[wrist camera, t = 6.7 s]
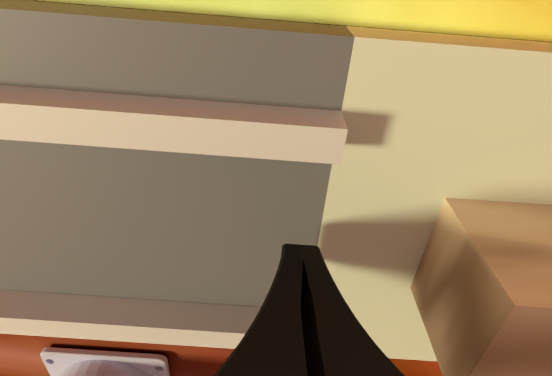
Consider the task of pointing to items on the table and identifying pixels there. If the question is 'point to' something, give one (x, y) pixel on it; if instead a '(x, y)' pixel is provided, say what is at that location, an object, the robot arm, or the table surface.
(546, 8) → the table surface
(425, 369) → the table surface
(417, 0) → the table surface
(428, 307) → the maple block
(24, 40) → the chute board
